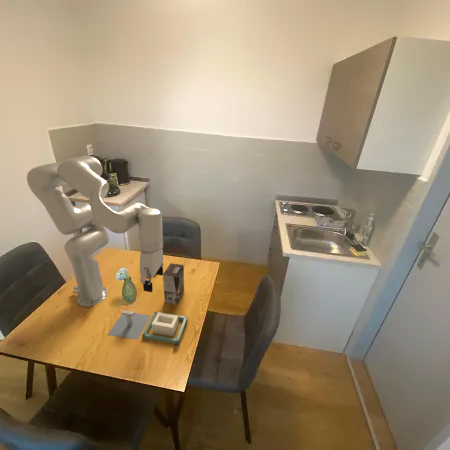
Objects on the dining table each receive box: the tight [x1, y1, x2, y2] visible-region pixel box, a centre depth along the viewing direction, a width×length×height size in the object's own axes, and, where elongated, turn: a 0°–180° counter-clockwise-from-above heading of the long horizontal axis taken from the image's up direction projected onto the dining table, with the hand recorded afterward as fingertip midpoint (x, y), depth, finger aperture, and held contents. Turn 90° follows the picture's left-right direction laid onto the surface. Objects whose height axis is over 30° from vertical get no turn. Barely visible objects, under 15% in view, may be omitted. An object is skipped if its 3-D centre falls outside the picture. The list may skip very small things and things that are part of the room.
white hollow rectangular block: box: [151, 311, 180, 337], centre depth 98 cm, size 8×6×5 cm
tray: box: [141, 311, 188, 347], centre depth 99 cm, size 14×12×2 cm
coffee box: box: [162, 262, 185, 305], centre depth 112 cm, size 9×6×16 cm
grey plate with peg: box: [107, 310, 152, 341], centre depth 98 cm, size 12×12×8 cm
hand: (153, 282), depth 94 cm, fingers open, 9 cm apart
